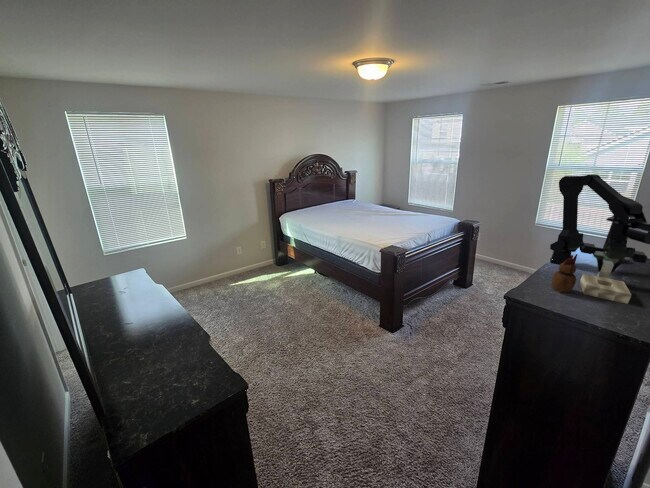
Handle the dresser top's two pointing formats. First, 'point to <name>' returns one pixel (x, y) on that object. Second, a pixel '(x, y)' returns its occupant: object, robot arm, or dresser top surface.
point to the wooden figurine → (565, 276)
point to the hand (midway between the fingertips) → (604, 272)
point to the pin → (605, 269)
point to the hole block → (605, 288)
